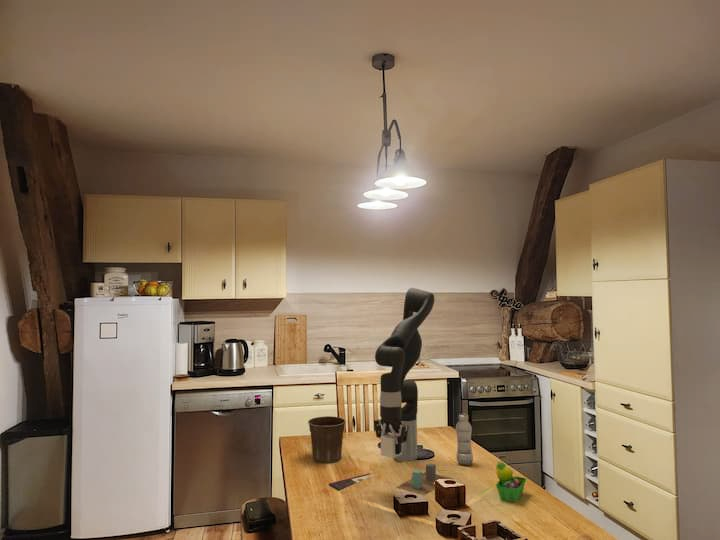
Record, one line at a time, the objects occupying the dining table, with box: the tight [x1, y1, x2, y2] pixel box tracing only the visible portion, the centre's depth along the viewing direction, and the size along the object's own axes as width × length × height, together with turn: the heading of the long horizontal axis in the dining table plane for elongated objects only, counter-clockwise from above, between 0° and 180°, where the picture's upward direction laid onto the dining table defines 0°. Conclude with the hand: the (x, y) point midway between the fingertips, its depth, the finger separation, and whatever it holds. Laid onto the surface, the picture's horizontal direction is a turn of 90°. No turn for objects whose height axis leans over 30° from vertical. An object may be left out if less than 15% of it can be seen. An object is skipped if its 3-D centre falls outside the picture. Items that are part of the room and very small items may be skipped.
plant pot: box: [307, 415, 346, 464], centre depth 219 cm, size 16×16×16 cm
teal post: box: [411, 469, 423, 489], centre depth 183 cm, size 3×3×5 cm
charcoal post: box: [425, 462, 437, 481], centre depth 190 cm, size 3×3×5 cm
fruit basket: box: [495, 461, 527, 503], centre depth 176 cm, size 11×9×11 cm
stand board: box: [395, 471, 454, 496], centre depth 186 cm, size 20×12×1 cm, turn 140°
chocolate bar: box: [328, 473, 374, 493], centre depth 190 cm, size 9×1×18 cm
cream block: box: [380, 433, 402, 459], centre depth 179 cm, size 5×5×7 cm
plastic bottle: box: [455, 413, 474, 466], centre depth 210 cm, size 6×7×20 cm
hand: (391, 452), depth 179 cm, fingers closed on cream block, 5 cm apart
